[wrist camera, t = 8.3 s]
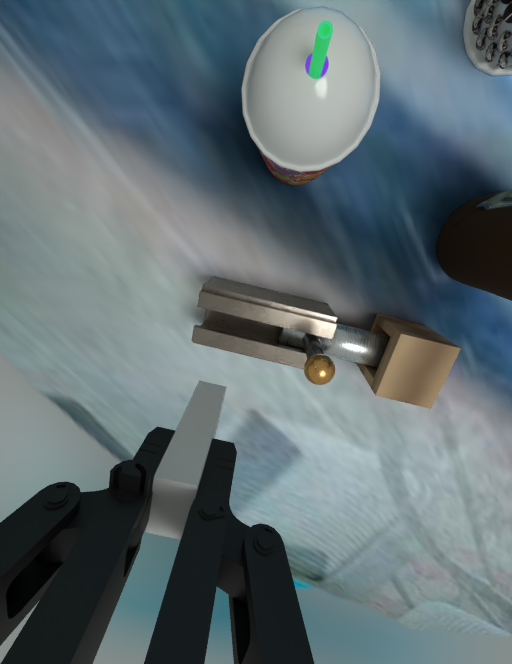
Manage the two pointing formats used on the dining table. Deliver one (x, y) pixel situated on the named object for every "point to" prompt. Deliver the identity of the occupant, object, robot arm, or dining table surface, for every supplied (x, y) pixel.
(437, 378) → the socket block
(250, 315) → the outer sleeve
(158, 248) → the dining table surface
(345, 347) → the ball knob lever
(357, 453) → the dining table surface
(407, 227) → the dining table surface
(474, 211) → the olive oil
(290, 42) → the smoothie
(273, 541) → the robot arm
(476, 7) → the decorative candle
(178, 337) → the dining table surface
